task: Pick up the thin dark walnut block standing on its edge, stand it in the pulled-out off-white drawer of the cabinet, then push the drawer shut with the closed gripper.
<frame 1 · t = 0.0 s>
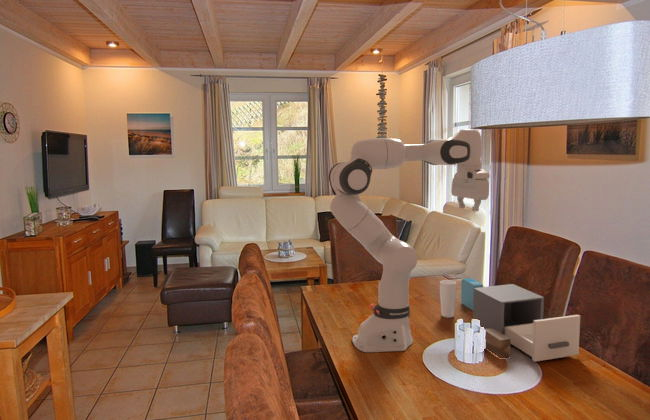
hand: (468, 209, 172), 48 cm above the table, tool pointing down, fingers open, 8 cm apart
drinking glass: (447, 316, 195), on the table
cabinet: (506, 331, 177), on the table
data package: (471, 307, 205), on the table
walnut block: (495, 353, 159), on the table
drawer: (539, 329, 158), point 8 cm above the table, slide at 16.0 cm
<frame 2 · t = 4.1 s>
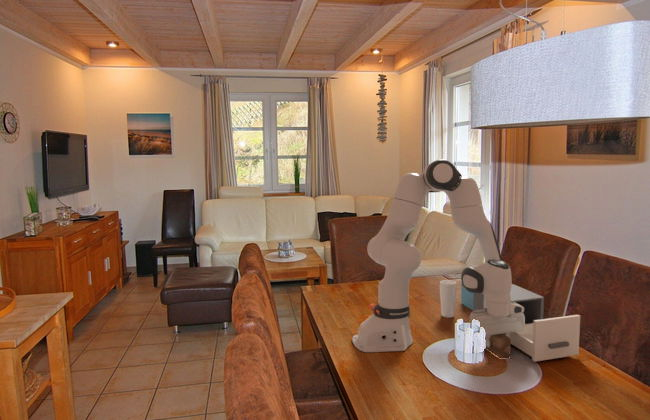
hand: (496, 345, 158), 3 cm above the table, tool pointing down, fingers closed on walnut block, 4 cm apart
walnut block: (495, 352, 159), on the table, touching gripper
everything else where it was.
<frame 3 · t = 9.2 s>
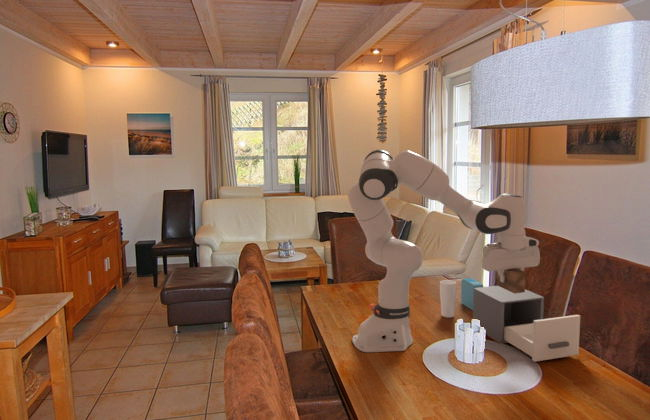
hand: (510, 281, 155), 26 cm above the table, tool pointing down, fingers closed on walnut block, 4 cm apart
walnut block: (510, 288, 156), point 23 cm above the table, touching gripper
everything else where it was.
when the fingers open (6 cm above the table, at t = 14.0 s): walnut block drops 1 cm, resting on drawer.
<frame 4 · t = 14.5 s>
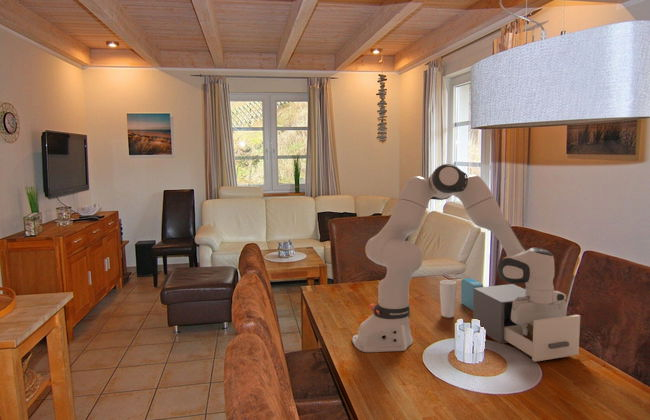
hand: (537, 333, 159), 6 cm above the table, tool pointing down, fingers open, 8 cm apart
walnut block: (537, 344, 160), point 2 cm above the table, touching drawer
drawer: (539, 329, 158), point 8 cm above the table, slide at 16.0 cm, touching walnut block
everything else where it was.
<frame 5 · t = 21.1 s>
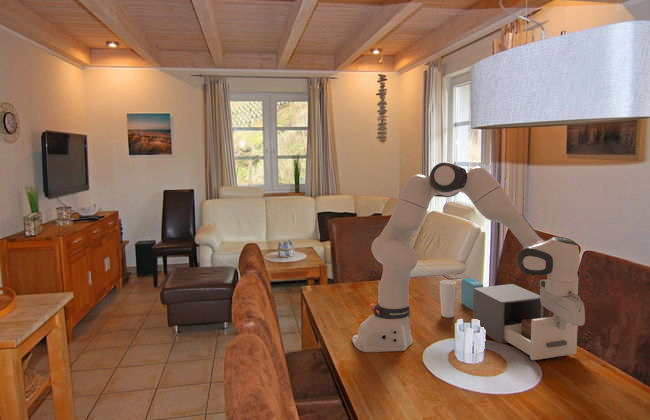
hand: (560, 328, 148), 12 cm above the table, tool pointing down, fingers closed
drawer: (538, 328, 159), point 8 cm above the table, slide at 15.0 cm, touching gripper, walnut block
everything else where it was.
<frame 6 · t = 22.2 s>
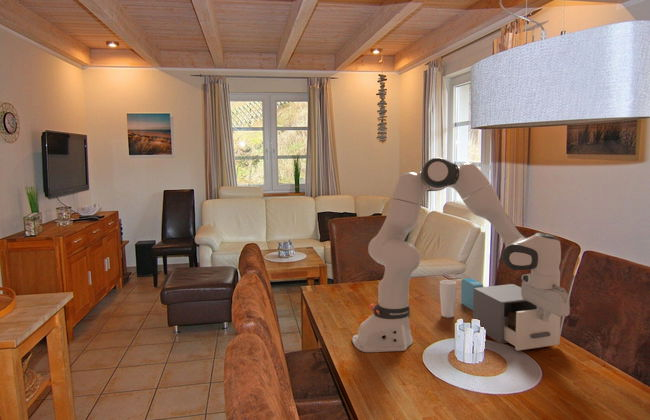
hand: (543, 320, 156), 12 cm above the table, tool pointing down, fingers closed
walnut block: (521, 334, 168), point 2 cm above the table, touching drawer
drawer: (523, 320, 166), point 8 cm above the table, slide at 7.3 cm, touching gripper, walnut block
everything else where it was.
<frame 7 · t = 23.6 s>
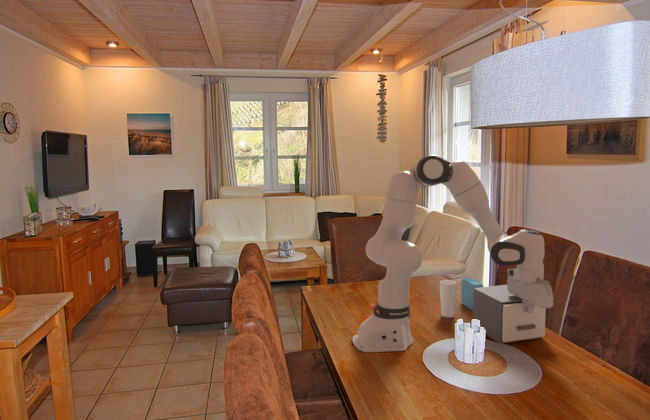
hand: (528, 312, 163), 12 cm above the table, tool pointing down, fingers closed
walnut block: (508, 327, 175), point 2 cm above the table, touching drawer
drawer: (510, 313, 173), point 8 cm above the table, slide at -0.1 cm, touching gripper, walnut block
everything else where it was.
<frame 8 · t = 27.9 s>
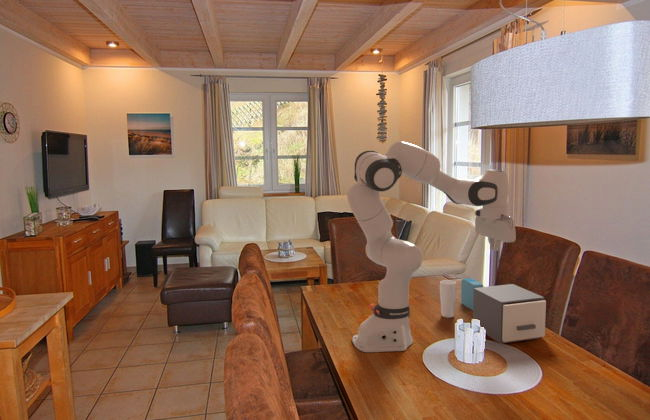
hand: (494, 250, 170), 33 cm above the table, tool pointing down, fingers closed
drawer: (510, 313, 173), point 8 cm above the table, slide at 0.0 cm, touching walnut block
everything else where it was.
at the end: drawer slide at 0.0 cm; walnut block inside the target area (1.2 cm from its centre), point 2.1 cm above the table; walnut block tilted 0° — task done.
